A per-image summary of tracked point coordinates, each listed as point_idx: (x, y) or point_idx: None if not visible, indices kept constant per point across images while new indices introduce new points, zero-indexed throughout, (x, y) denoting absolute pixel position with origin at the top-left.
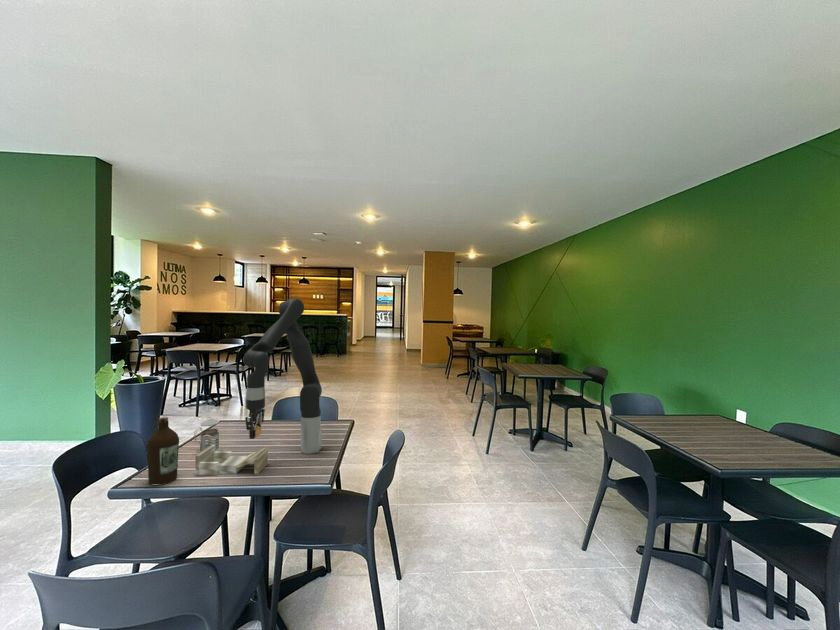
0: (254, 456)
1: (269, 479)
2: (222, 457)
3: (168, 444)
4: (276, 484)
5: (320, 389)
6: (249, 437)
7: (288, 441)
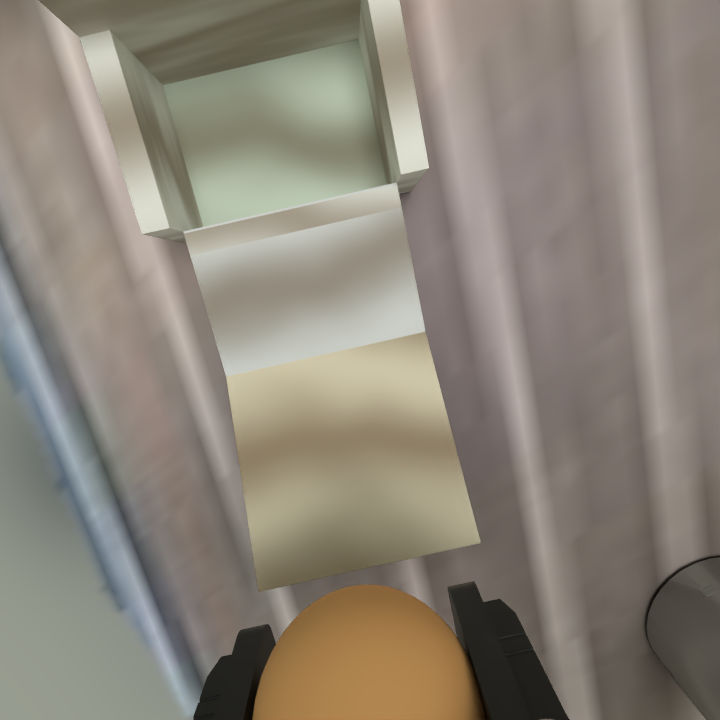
0: (293, 528)
1: (239, 612)
2: (378, 101)
3: None
4: (196, 680)
5: None
6: (237, 639)
7: None
